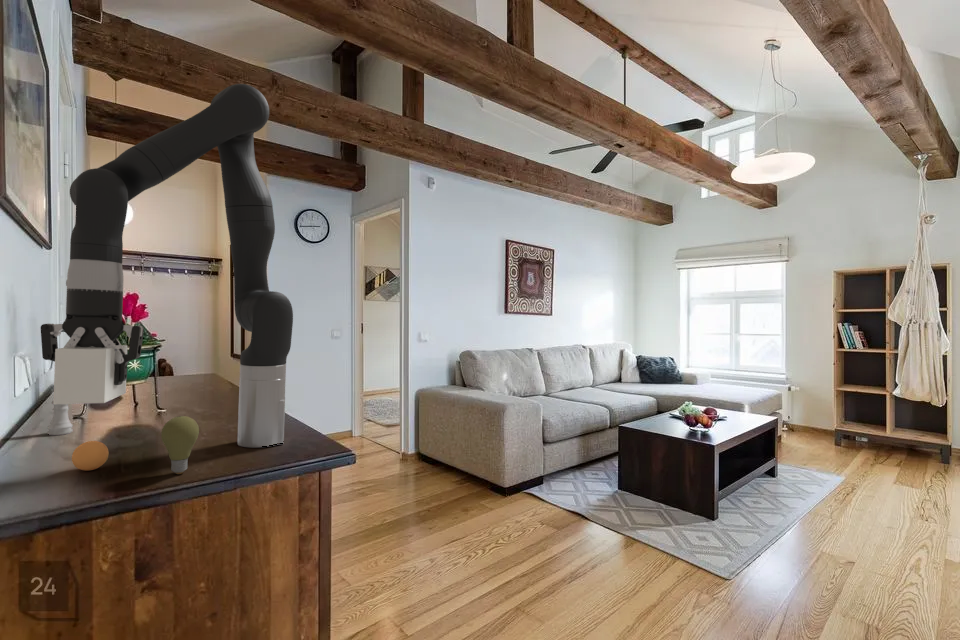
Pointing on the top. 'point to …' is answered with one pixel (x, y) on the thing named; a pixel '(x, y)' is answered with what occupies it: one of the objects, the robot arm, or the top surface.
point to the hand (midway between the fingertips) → (92, 384)
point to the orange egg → (90, 455)
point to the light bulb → (179, 441)
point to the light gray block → (86, 375)
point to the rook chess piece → (60, 420)
